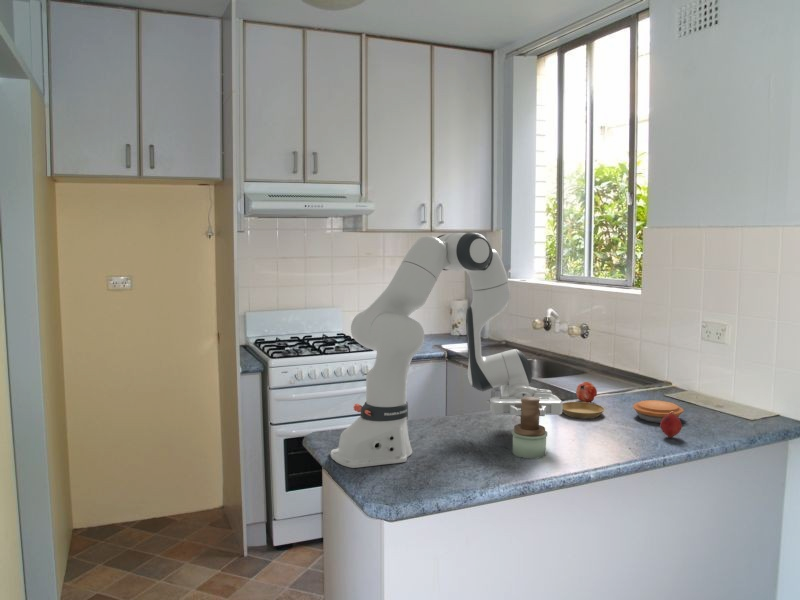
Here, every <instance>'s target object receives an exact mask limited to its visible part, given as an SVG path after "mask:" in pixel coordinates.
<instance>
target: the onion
mask: <svg viewBox="0 0 800 600" xmlns="http://www.w3.org/2000/svg"><path fill="white" fill-rule="evenodd" d="M659 425H660V429H661V431H662V433H663V434H665V436H667V437H668V438H670V439H671V438H674V437H675V436H677V435H678V434H680V432H681V430H682V428H683V426H682V421H681V419H680V417H677V416H675V415H674V411H671V412H670V413H669V414H668V415H666V416H665V417H664V418H663V419H662V420H661V423H659Z"/></svg>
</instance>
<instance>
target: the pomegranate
mask: <svg viewBox="0 0 800 600" xmlns="http://www.w3.org/2000/svg"><path fill="white" fill-rule="evenodd" d="M597 391H598V390H597V388H596V386H595V385H593V383H592V382H589V381H583V382H582V383H579V384H578V385H577V388H576V391H575V395H576V397H577V399H578V400H579V402H586V403H591V402H592V403H593V401H594V399H595V397H597V396H598V395H597V394H598V392H597Z"/></svg>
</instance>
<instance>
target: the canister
mask: <svg viewBox="0 0 800 600" xmlns="http://www.w3.org/2000/svg"><path fill="white" fill-rule="evenodd" d="M511 434H512V454H513V455H514V456H516V457H518V458H521V457H523V458H522V459H528V458H530V459H531V460H532V459H534V460H535V458H537V459H541V458H545V457H546V454H547V453H546V452H547V437H548V431H546V430H545V434H544V435H542V436H537V437H528V436H522V435H518V434H516V433H515V432H514V428H513V429H512V430H511Z"/></svg>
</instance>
